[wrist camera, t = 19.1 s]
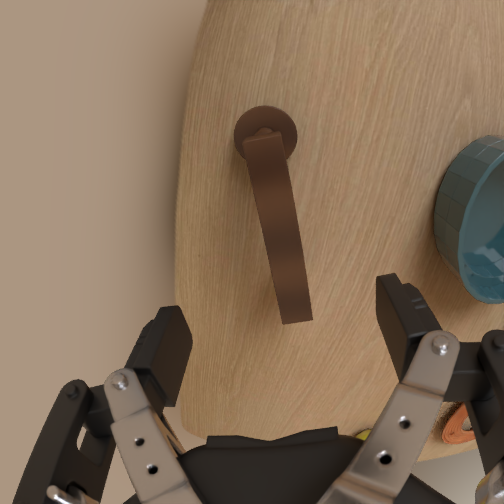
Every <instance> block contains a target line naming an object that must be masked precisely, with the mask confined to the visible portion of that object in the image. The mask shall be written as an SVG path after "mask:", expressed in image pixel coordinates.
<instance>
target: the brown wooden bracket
mask: <svg viewBox="0 0 504 504" xmlns="http://www.w3.org/2000/svg"><path fill="white" fill-rule="evenodd" d="M234 142H235V145H236V148H237V150H238V152H239V153H240V155H241V156H242V157H243V158H244V159H245V160H246V162H247V166H248V170H249V175H250V179H251V183H252V188H253V192H254V196H255V201H256V205H257V210H258V214H259V219H260V223H261V228H262V232H263V237H264V241H265V246H266V250H267V255H268V259H269V264H270V268H271V273H272V277H273V282H274V287H275V291H276V296H277V301H278V305H279V310H280V315H281V319H282V324H283V325H284V324H291V323H297V322H304V321H310V320H313V317H312V309H311V302H310V295H309V289H308V282H307V275H306V269H305V262H304V256H303V250H302V244H301V238H300V232H299V226H298V220H297V215H296V209H295V203H294V198H293V192H292V187H291V182H290V177H289V171H288V166H287V161H286V159H287V158H288V157H289V156H290V155H291V154H292V152H293V151H294V149H295V147H296V143H297V130H296V126H295V124H294V122H293V120H292V119H291V118H290V116H289V115H288V114H287V113H285V112H284V111H282V110H281V109H279V108H276V107H273V106H258V107H254V108H252V109H250V110H248V111H247V112H245V113H244V114H243V115H242V116H241V117H240V119H239V120H238V122H237V124H236V126H235V130H234Z"/></svg>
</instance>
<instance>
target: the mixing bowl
mask: <svg viewBox="0 0 504 504" xmlns="http://www.w3.org/2000/svg"><path fill="white" fill-rule="evenodd" d="M434 211H435V212H434V235H435V240H436V245H437V249H438V252H439V254H440V256H441V258H442V260H443V261H444V263H445V265H446V266H447V267H448V268H449V269H450V271H451V272H452V273H453V274H454V275H455V276H456V278H457V279H458V280H459V281H460V283H461V284H462V285H463V286H464V287H465V289H466V290H467V291H468V292H469V293H470V294H471V295H472V296H473V297H474V298H475V299H476V300H479V301H482V302H484V303H487V304H501V303H504V136H503V135H488V136H485V137H483V138H480V139H478V140H475V141H473V142H472V143H471V144H469V145H468V146H467V147H466V148H465V149H464V150H462V151H461V152H460V153H459V154H458V156H457V157H456V159H455V160H454V161H453V163H452V164H451V166H450V167H449V168H448V170H447V172H446V175H445V177H444V179H443V182H442V184H441V186H440V188H439V192H438V197H437V201H436V206H435V210H434Z"/></svg>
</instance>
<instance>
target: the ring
mask: <svg viewBox="0 0 504 504" xmlns="http://www.w3.org/2000/svg"><path fill="white" fill-rule="evenodd" d="M467 416H468V413H467V410H466V407H465V404H464V403H463V404H462V405H461V406H460V407H459V408H458V409H457V410H456V411H455V412H454V413H453V415H452V416H451V417H450V418H449V420H448V421H447V423H446V424H445V426H444V428H443V431H442V439H443V441H444V442H445V443H448V444H459V443H464V442H468V441H471V440H473V439H476V438H475V435H474V432H473V428H472V429H471V430H470V431H465V430H462V424H463V422H464V420H465V419H466V418H467Z"/></svg>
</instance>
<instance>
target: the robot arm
mask: <svg viewBox="0 0 504 504" xmlns="http://www.w3.org/2000/svg"><path fill="white" fill-rule="evenodd" d="M376 315H377V320H378V324H379V326H380V329H381V331H382V334H383V337H384V339H385V342H386V345H387V348H388V350H389V353H390V356H391V359H392V362H393V365H394V367H395V370H396V373H397V376H398V379H399V383H398V384H397V385H396V387H395V389H394V391H393V393H392V395H391V396H390V398H389V400H388V402H387V404H386V406H385V407H384V409H383V411H382V413H381V414H380V416H379V418H378V420H377V421H376V423H375V425H374V426H373V428H372V430H371V431H370V433H369V435H368V436H367V438H366V439H365V440H362V439H360V438H356V437H353V436H347V435H338V428H337V426H335V427H329V428H322V429H314V430H306V431H302V432H299V433H296V434H293V435H289V436H286V437H283V438H280V439H276V440H272V441H266V440H260V439H254V438H249V437H243V436H238V435H234V436H208V437H207V442H206V444H205V445H202V446H198V447H196V448H193V449H191V450H189V451H187V452H186V451H185V450H184V448H183V446H182V445H181V443H180V442H179V440H178V438H177V436H176V435H175V433H174V431H173V430H172V428H171V426H170V424H169V423H168V421H167V419H166V417H165V416H164V414H163V413H162V412H163V409H164V407H175V404H176V401H177V397H178V394H179V390H180V387H181V383H182V380H183V376H184V373H185V370H186V366H187V363H188V359H189V356H190V353H191V349H192V344H193V340H192V334H191V332H190V329H189V327H188V325H187V322H186V320H185V318H184V315H183V313H182V310H181V308H180V307H179V306H178V305H176V306H168V307H161V308H160V309H159V311H158V313H157V315H156V317H155V319H154V320H151V321H150V322H149V323H148V324H147V325H146V326H145V327H144V328H143V330H142V332H141V334H140V336H139V338H138V340H137V342H136V345H135V346H134V348H133V350H132V353H131V354H130V356H129V359H128V360H127V363H126V365H125V367H124V368H123V369H119V370H116V371H114V372H113V373H111V374H110V375H109V376H108V377H107V379H106V380H105V382H104V384H103V385H99V386H95V387H91V388H89V387H88V386H87V384H86V383H85V382H84V381H83V380H79V379H77V380H73V381H70V382H68V383H67V384H66V385H65V386H64V387H63V388H62V390H61V391H60V393H59V395H58V397H57V399H56V401H55V403H54V405H53V407H52V409H51V411H50V413H49V415H48V417H47V420H46V422H45V424H44V426H43V428H42V430H41V433H40V435H39V437H38V439H37V442H36V444H35V446H34V449H33V451H32V453H31V456H30V458H29V461H28V463H27V465H26V468H25V470H24V473H23V476H22V478H21V481H20V483H19V486H18V489H17V492H16V495H15V497H14V500H13V503H12V504H100V502H101V498H102V494H103V490H104V487H105V483H106V479H107V475H108V472H109V468H110V464H111V461H112V458H113V454H114V451H115V448H116V444H117V447H118V449H119V452H120V455H121V458H122V460H123V463H124V465H125V468H126V470H127V473H128V475H129V478H130V480H131V482H132V484H133V487H134V489H135V491H136V493H135V494H134V495H133V496H132V497H131V498H129V499H128V500H127V501H126V502H124V503H123V504H455V503H454V502H452V501H451V500H449V499H448V498H446V497H445V496H443V495H442V494H440V493H439V492H437V491H436V490H434V489H433V488H431V487H430V486H429V485H427V484H426V483H424V482H423V481H421V480H420V479H419V478H417V477H416V476H414V475H413V474H412V473H411V471H412V469H413V467H414V465H415V463H416V461H417V459H418V457H419V455H420V453H421V451H422V449H423V447H424V445H425V443H426V440H427V438H428V436H429V434H430V432H431V429H432V427H433V425H434V422H435V420H436V417H437V415H438V412H439V410H440V407H441V405H442V402H456V401H464V404H465V407H466V410H467V413H468V416H469V419H470V422H471V425H472V428H473V432H474V435H475V438H476V442H477V445H478V449H479V452H480V456H481V459H482V463H483V467H484V471H485V475H486V476H485V477H484V478H483V479H482V480H481V481H480V482H479V484H478V486H477V489H476V493H475V504H504V331H503V330H491V331H489V332H487V333H486V334H485V335H484V336H483V338H482V341H481V342H459V341H458V339H457V338H456V336H454V335H453V334H452V333H450V332H447V331H443V330H442V328H441V326H440V325H439V323H438V321H437V319H436V318H435V316H434V314H433V313H432V311H431V309H430V308H429V306H428V304H427V303H426V301H425V299H424V298H423V296H422V295H421V293H420V291H419V290H418V289H417V288H415V287H414V286H413V285H411V284H410V283H407V284H402V283H401V282H400V280H399V278H398V277H397V275H396V274H395V273H392V274H386V275H381V276H377V277H376ZM82 426H83V427H85V429H86V430H87V431H86V433H85V436H84V439H83V442H82V445H81V447H80V450H78V448H77V438H78V436H79V433H80V431H81V428H82Z"/></svg>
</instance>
